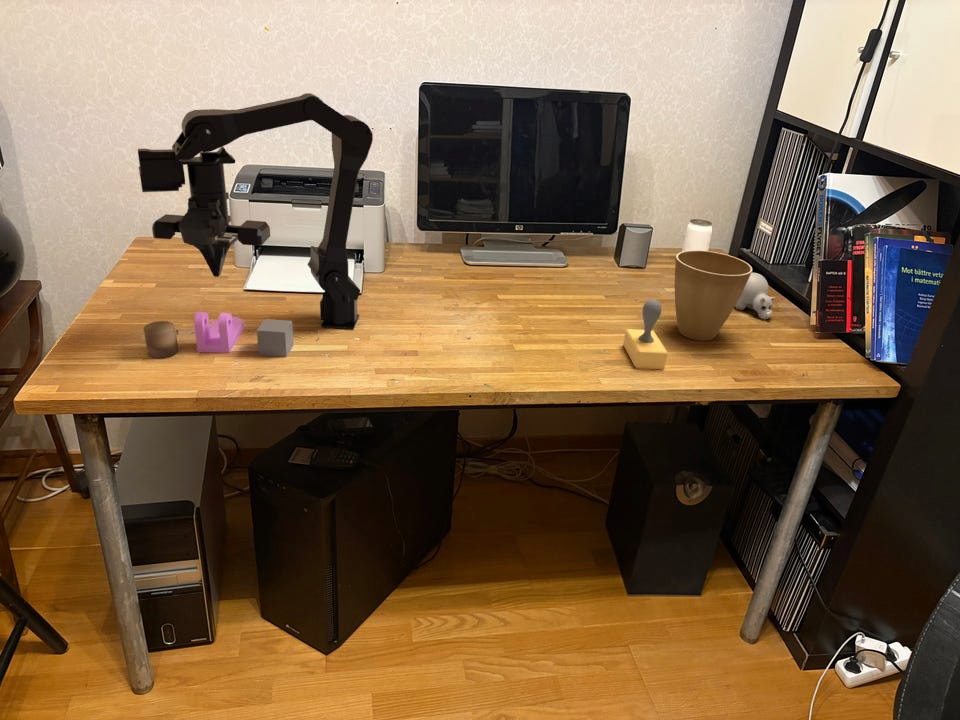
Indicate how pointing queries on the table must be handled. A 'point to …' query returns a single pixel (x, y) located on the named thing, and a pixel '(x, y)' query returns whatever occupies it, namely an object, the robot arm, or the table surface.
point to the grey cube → (275, 338)
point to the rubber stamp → (646, 340)
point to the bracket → (217, 332)
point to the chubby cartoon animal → (756, 296)
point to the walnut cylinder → (161, 339)
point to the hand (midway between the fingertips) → (217, 276)
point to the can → (697, 235)
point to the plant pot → (707, 291)
